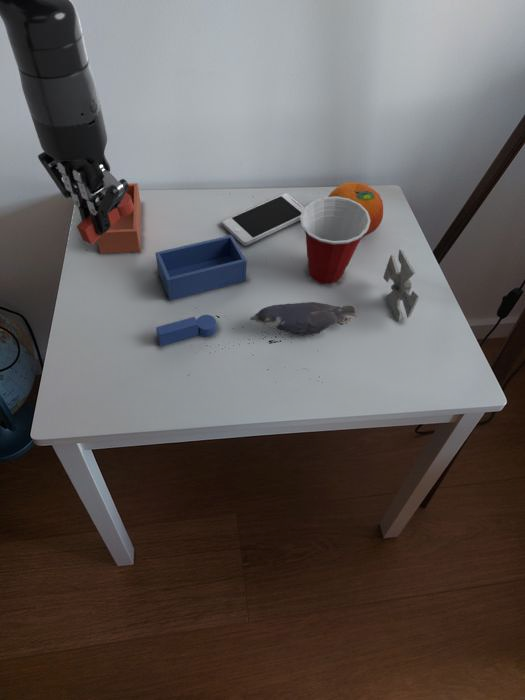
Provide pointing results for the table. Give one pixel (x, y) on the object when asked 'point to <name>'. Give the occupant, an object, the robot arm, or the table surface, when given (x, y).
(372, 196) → the fruit
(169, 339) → the blue spoon
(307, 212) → the plastic cup
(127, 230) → the orange bin
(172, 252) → the blue bin
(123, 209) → the red spoon
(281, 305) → the bird model
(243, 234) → the smartphone
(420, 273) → the table surface
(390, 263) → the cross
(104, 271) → the table surface
